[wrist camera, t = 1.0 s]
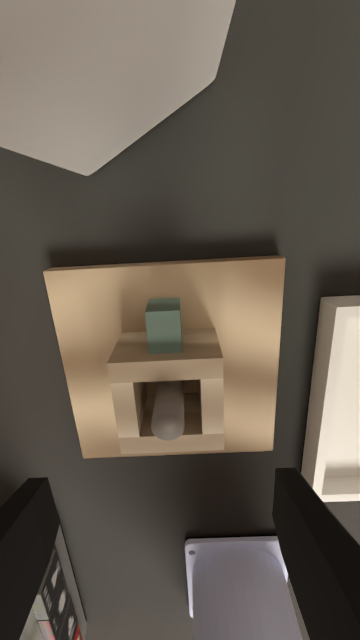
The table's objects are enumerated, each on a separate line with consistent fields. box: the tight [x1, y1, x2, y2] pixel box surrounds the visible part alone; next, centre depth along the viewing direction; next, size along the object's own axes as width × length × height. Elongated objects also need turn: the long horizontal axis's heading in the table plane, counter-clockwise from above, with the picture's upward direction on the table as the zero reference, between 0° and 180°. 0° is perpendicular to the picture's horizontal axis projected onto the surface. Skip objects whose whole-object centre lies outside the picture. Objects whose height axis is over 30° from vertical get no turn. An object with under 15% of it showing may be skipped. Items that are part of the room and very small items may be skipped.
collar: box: [107, 297, 224, 454], centre depth 15 cm, size 7×5×3 cm
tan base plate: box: [43, 255, 285, 458], centre depth 15 cm, size 12×12×6 cm
